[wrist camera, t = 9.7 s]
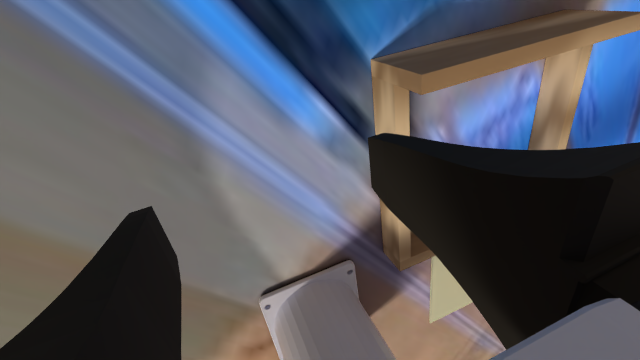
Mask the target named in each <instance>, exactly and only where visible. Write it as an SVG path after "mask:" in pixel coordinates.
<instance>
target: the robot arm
mask: <svg viewBox="0 0 640 360" xmlns="http://www.w3.org/2000/svg"><path fill="white" fill-rule="evenodd" d="M368 145H369V158H370V171H371V184H372V188H373V190H374V191H375V192H376V194H377V195H378V196H379V198H380V199H381V200H382V202H383V203H384V204H385V206H386V207H387V208H388V209H389V210H390V211H391V212H392V213H393V214H394V215H395V216H396V217H397V218H398V219H399V220H400V221H401V222H402V223H403V224H404V225H405V226H406V227H407V228H409V229H410V230H411V231H412V232H413V233H414V234H415V235H416V236H417V237H418V238H419V239H420V240H421V241H422V242H423V243H424V244H425V245H426V246H427V247H428V248H429V249H430V250H431V251H432V252H433V253H434V254H435V255H436V256H437V258H438V259H439V260H440V261H441V262H442V264H443V265H444V266H445V267H446V268H447V270H448V271H449V272H450V273H451V275H452V276H453V277H454V278H455V279H456V281H457V282H458V283H459V285H460V286H461V287H462V289H463V290H464V291H465V292H466V294H467V295H468V296H469V298H470V299H471V300H472V301H473V303H474V304H475V306H476V307H477V308H478V310H479V311H480V313H481V314H482V315H483V317H484V318H485V319H486V321H487V322H488V324H489V325H490V326H491V328H492V329H493V331H494V332H495V334H496V335H497V337H498V338H499V339H500V341H501V342H502V344H503V345H504V347H505V348H506V351H504V352H502V353H500V354H498V355H497V356H495V357H493V358H491V359H489V360H640V142H638V143H630V144H621V145H612V146H603V147H593V148H578V149H561V150H508V149H493V148H480V147H471V146H464V145H457V144H450V143H444V142H438V141H433V140H427V139H422V138H417V137H411V136H406V135H400V134H393V133H381V134H378V135H375V136H372V137H369V138H368ZM259 304H260V307H261V310H262V313H263V315H264V318H265V321H266V323H267V326H268V329H269V331H270V334H271V337H272V339H273V342H274V345H275V347H276V350H277V353H278V355H279V358H280V360H396V358H395V356H394V355H393V353H392V352H391V350H390V349H389V347H388V345H387V344H386V342H385V341H384V339H383V337H382V336H381V334H380V333H379V331H378V330H377V328H376V326H375V325H374V323H373V322H372V320H371V318H370V317H369V315H368V314H367V312H366V311H365V309H364V307H363V306H362V304H361V303H360V301H359V295H358V287H357V280H356V272H355V265H354V263H353V262H352V261H351V260H348V261H345V262H342V263H340V264H338V265H335V266H333V267H330V268H328V269H325V270H323V271H321V272H318V273H316V274H313V275H311V276H309V277H306V278H304V279H301V280H299V281H297V282H294V283H292V284H289V285H287V286H285V287H282V288H280V289H277V290H275V291H272V292H270V293H268V294H265V295H263V296H261V297H260V299H259ZM266 305H267V306H266ZM0 360H181V279H180V272H179V266H178V259H177V256H176V254H175V252H174V250H173V248H172V246H171V244H170V242H169V240H168V238H167V236H166V234H165V232H164V230H163V228H162V226H161V224H160V222H159V220H158V218H157V216H156V214H155V212H154V210H153V208H152V206H150V207H147V208H144V209H141V210H138V211H134V212H131V213H129V214H128V215H127V216H126V217H125V219H124V220H123V221H122V222H121V223H120V225H119V226H118V227H117V228H116V230H115V231H114V232H113V233H112V235H111V236H110V237H109V239H108V240H107V241H106V242H105V244H104V245H103V246H102V247H101V248H100V250H99V251H98V252H97V253H96V255H95V256H94V257H93V258H92V260H91V261H90V262H89V263H88V264H87V265H86V266H85V267H84V269H83V270H82V271H81V272H80V273H79V274H78V275H77V276H76V278H75V279H74V280H73V281H72V282H71V283H70V284H69V286H68V287H67V288H66V289H65V290H64V291H63V292H62V293H61V294H60V295H59V296H58V297H57V298H56V299H55V300H54V301H53V302H52V303H51V304H50V305H49V306H48V307H47V308H46V309H45V310H44V311H43V312H42V313H41V314H39V315H38V316H37V317H36V318H35V319H34V320H33V321H32V322H31V323H30V324H29V325H28V326H27V327H25V328H24V329H23V330H22V331H21V332H20V333H18V334H17V335H16V336H15V337H14V338H13V339H11V340H10V341H9V342H8V343H7V344H5V345H4V346H3V347H2V348H1V349H0Z"/></svg>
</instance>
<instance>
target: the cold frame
mask: <svg viewBox="0 0 640 360" xmlns="http://www.w3.org/2000/svg"><path fill="white" fill-rule="evenodd" d="M638 30H640V12H629V11H594V10H562V11H558V12H554V13H550V14H547V15H543V16H539V17H535V18H531V19H527V20H523V21H519V22H515V23H511V24H507V25H504V26H500V27H496V28H492V29H488V30H484V31H480V32H476V33H472V34H468V35H464V36H461V37H457V38H453V39H449V40H445V41H441V42H437V43H433V44H429V45H425V46H421V47H418V48H414V49H410V50H406V51H402V52H398V53H394V54H390V55H386V56H382V57H378V58H374V59H371V71H372V86H373V101H374V117H375V132H376V135H378V134H381V133H393V134H400V135H406V136H410V122H409V90H410V91H412V92H415V93H418V94H420V95H423V94H426V93H430V92H433V91H436V90H440V89H443V88H446V87H450V86H453V85H457V84H460V83H463V82H467V81H470V80H473V79H477V78H480V77H483V76H487V75H490V74H493V73H497V72H500V71H504V70H507V69H510V68H514V67H517V66H520V65H524V64H527V63H530V62H534V61H537V60H540V59H544V58H546V61H545V66H544V71H543V76H542V81H541V86H540V91H539V97H538V102H537V107H536V112H535V117H534V122H533V127H532V132H531V137H530V142H529V147H528V150H561V149H566V145H567V142H568V138H569V134H570V130H571V127H572V123H573V119H574V115H575V111H576V108H577V104H578V100H579V96H580V92H581V89H582V85H583V81H584V77H585V73H586V70H587V66H588V62H589V58H590V54H591V51H592V47H593V44H594V43H598V42H601V41H604V40H608V39H611V38H614V37H618V36H621V35H624V34H628V33H631V32H635V31H638ZM380 207H381V222H382V237H383V252H384V253H385V254H386V255H387V257H388V258H389V259H390V260H391V261H392V263H393V264H394V265H395V266H396V267H397V268H398V270H399V271H402V270H404V269H407V268H409V267H411V266H413V265H416V264H418V263H420V262H422V261H425V260H427V259H429V258H431V257H434V256H436V255H435V254H434V253H433V252H432V251H431V250H430V249H429V248H428V247H427V246H426V245H425V244H424V243H423V242H422V241H421V240H420V239H419V238H418V237H417V236H416V235H415V234H414V233H413V232H412V231H411V232H410V229H409V228H407V227H406V226H405V225H404V224H403V223H402V222H401V221H400V220H399V219H398V218H397V217H396V216H395V215H394V214H393V213H392V212H391V211H390V210H389V209H388V208H387V207H386V206H385V204H384V203H383V202H382V200H381V199H380Z"/></svg>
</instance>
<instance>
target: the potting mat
mask: <svg viewBox="0 0 640 360" xmlns="http://www.w3.org/2000/svg"><path fill="white" fill-rule="evenodd" d="M472 302H473V301H472V300H471V299H470V298H469V296H468V295H467V294H466V292H465V291H464V290H463V289H462V287H461V286H460V285H459V283H458V282H457V281H456V279H455V278H454V277H453V276H452V275H451V273H450V272H449V271H448V270H447V268H446V267H445V266H444V265H443V264H442V262H441V261H440V260H439V259H438V258H437V256H434V257H431V284H430V312H429V322H430V323H432V322H434V321H436V320H438V319H440V318H442V317H444V316H446V315H448V314H450V313H452V312H454V311H456V310H458V309H460V308H462V307H464V306H466V305H468V304H470V303H472Z"/></svg>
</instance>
